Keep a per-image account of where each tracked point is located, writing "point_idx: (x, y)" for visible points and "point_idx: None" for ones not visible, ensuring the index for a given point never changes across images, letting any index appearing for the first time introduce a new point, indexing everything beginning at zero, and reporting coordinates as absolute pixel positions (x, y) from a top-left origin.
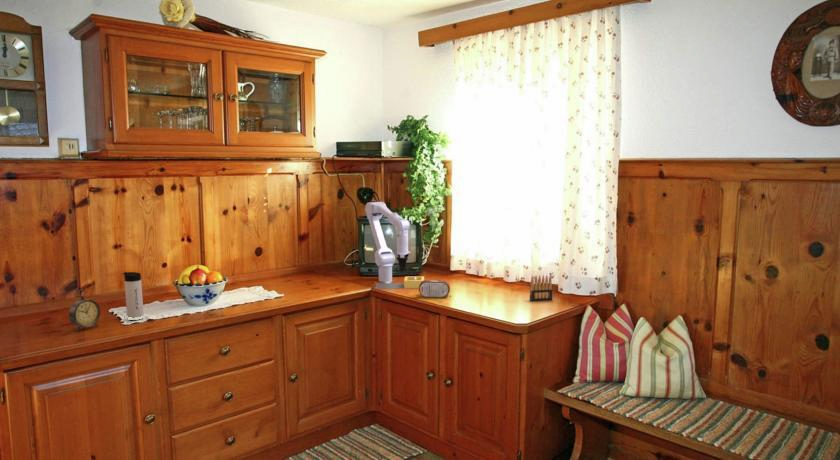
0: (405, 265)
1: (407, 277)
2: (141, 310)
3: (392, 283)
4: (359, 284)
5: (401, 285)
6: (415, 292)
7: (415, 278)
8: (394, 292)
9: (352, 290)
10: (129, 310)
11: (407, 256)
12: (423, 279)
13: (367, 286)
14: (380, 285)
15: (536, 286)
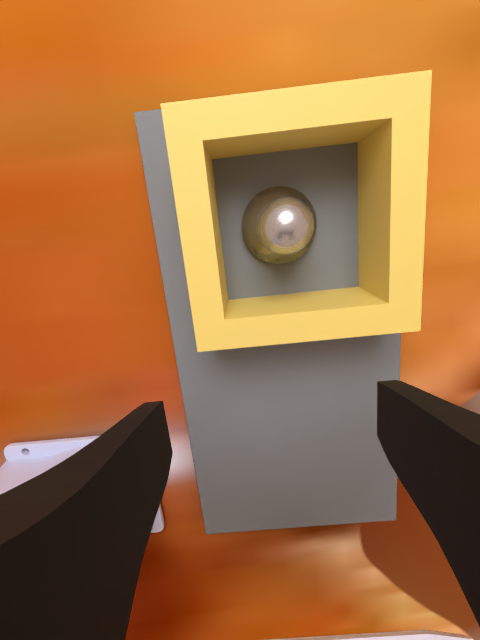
0: (471, 411)
1: (246, 317)
2: None
3: (198, 430)
4: (201, 616)
5: (269, 348)
6: (467, 190)
7: (306, 210)
8: (453, 370)
9: (378, 622)
10: None
11: (40, 533)
12: (362, 86)
13: (256, 567)
14: (282, 500)
15: None
